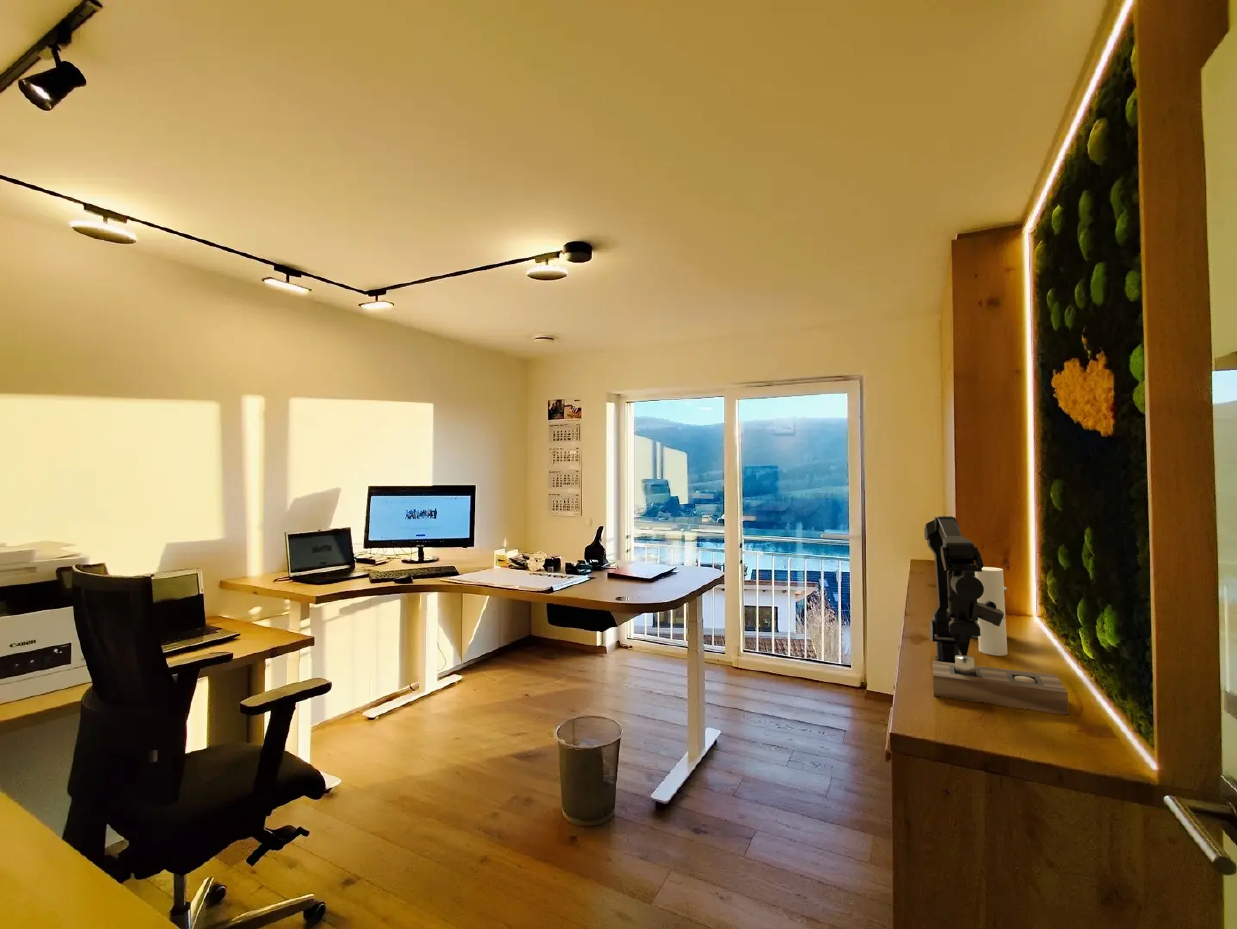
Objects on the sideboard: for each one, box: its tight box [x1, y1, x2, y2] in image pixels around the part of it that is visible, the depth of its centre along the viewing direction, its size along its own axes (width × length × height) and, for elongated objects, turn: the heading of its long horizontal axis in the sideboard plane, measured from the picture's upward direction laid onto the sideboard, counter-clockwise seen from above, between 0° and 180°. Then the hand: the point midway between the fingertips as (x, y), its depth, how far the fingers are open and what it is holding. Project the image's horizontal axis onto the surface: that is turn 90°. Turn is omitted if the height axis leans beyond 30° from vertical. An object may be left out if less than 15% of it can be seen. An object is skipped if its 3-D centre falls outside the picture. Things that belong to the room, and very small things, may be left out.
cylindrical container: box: [975, 566, 1008, 657], centre depth 166 cm, size 7×7×25 cm
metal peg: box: [955, 654, 975, 676], centre depth 137 cm, size 4×4×5 cm
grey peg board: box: [932, 660, 1070, 715], centre depth 134 cm, size 12×26×5 cm, turn 61°
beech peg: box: [1014, 676, 1035, 683], centre depth 131 cm, size 4×4×5 cm
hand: (964, 655), depth 137 cm, fingers closed
